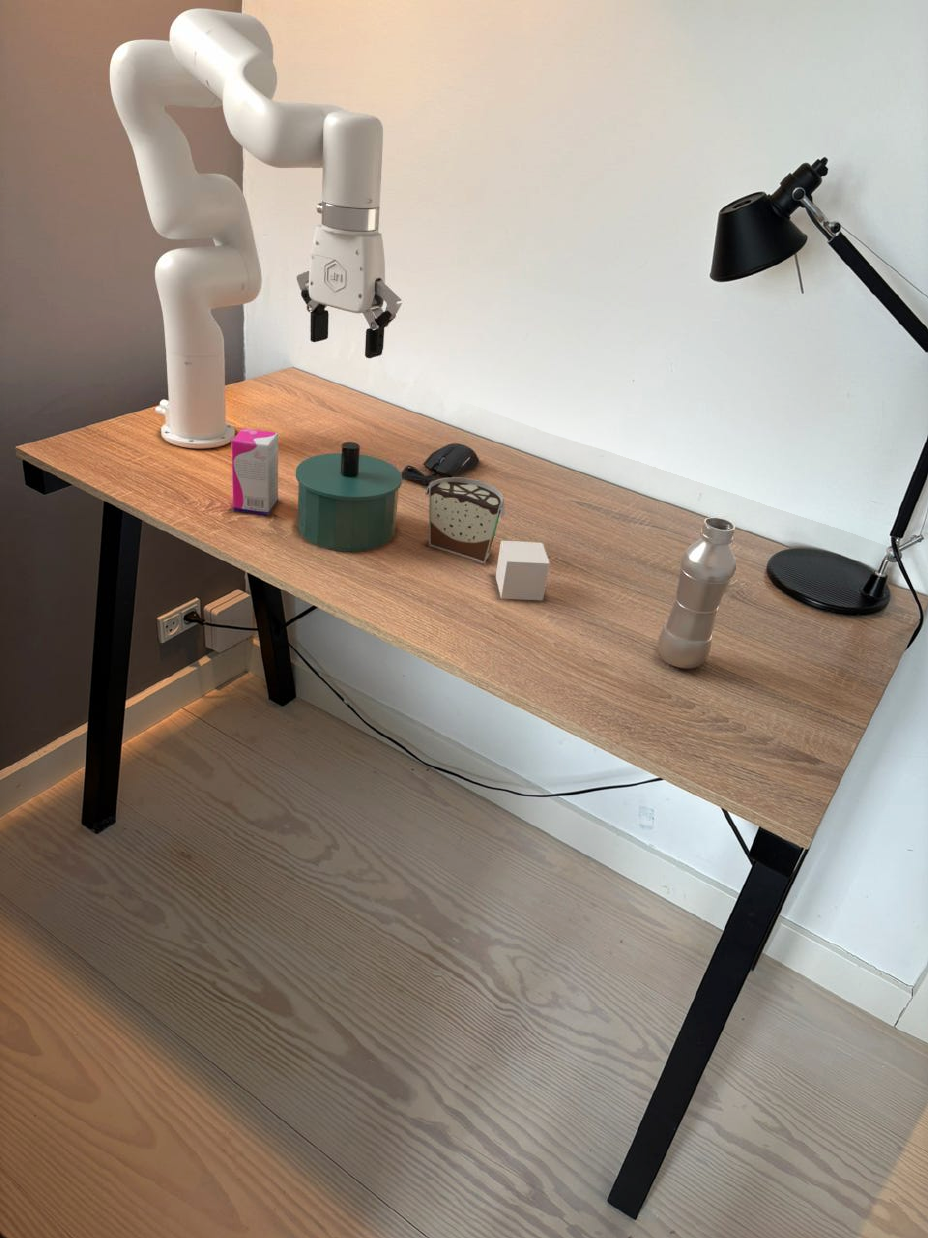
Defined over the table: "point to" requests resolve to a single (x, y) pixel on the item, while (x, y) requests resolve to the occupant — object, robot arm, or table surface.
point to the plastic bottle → (698, 595)
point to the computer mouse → (444, 463)
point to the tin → (346, 521)
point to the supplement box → (255, 471)
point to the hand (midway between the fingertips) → (346, 348)
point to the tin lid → (348, 475)
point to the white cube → (522, 570)
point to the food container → (464, 516)
